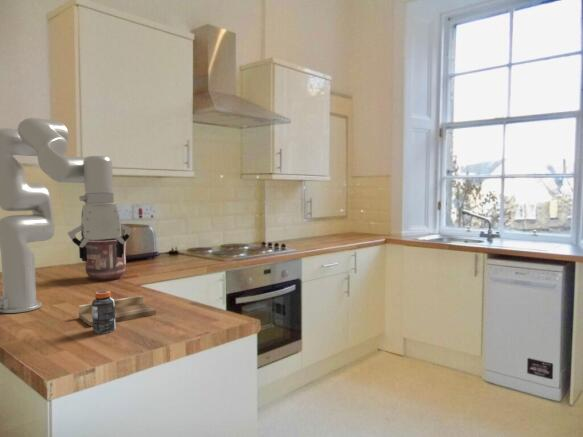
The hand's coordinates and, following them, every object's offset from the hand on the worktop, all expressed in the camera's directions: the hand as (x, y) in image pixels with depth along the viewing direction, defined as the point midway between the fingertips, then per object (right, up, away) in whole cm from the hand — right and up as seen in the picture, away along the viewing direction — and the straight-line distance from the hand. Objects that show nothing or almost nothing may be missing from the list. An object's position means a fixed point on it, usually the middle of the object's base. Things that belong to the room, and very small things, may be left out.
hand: (102, 259), depth 130 cm
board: (-1, -19, +13) cm, 23 cm away
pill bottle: (+1, -21, -1) cm, 21 cm away
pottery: (-29, -16, +73) cm, 80 cm away
